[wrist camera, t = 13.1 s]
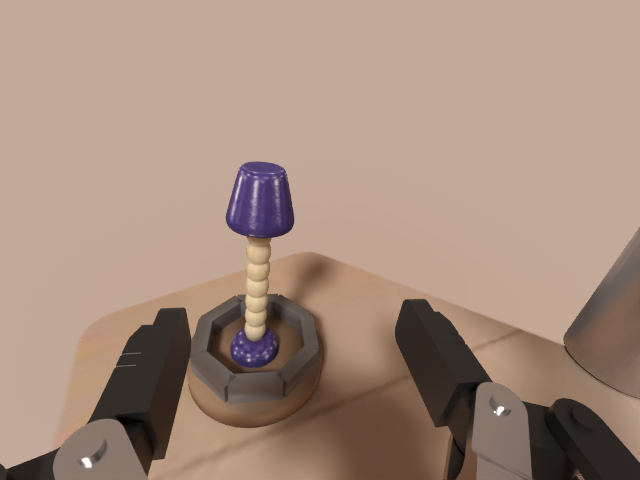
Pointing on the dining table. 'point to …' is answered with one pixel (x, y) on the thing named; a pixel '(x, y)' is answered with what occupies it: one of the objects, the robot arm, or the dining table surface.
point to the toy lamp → (258, 251)
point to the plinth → (254, 383)
